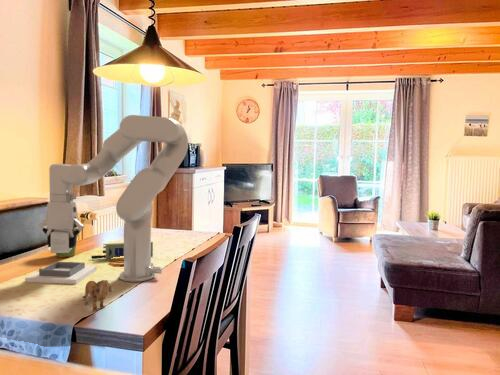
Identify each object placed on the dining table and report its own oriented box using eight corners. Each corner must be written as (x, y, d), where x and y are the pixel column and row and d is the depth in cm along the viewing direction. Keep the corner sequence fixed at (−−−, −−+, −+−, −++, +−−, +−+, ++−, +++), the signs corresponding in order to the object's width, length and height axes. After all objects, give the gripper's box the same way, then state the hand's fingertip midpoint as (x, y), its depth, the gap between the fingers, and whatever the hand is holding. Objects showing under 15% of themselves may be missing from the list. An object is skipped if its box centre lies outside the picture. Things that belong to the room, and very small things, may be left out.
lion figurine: (116, 309, 112) (116, 279, 111) (99, 315, 107) (99, 284, 107) (90, 296, 121) (90, 269, 120) (74, 301, 117) (73, 272, 116)
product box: (54, 249, 142) (54, 229, 141) (72, 248, 143) (72, 229, 142) (50, 253, 136) (50, 232, 135) (68, 252, 137) (68, 232, 136)
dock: (96, 269, 148) (96, 261, 147) (76, 283, 132) (76, 274, 132) (51, 268, 149) (51, 259, 148) (25, 281, 133) (25, 272, 132)
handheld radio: (152, 257, 168) (91, 261, 160) (152, 256, 171) (91, 259, 163) (152, 242, 167) (91, 245, 159) (152, 241, 170) (91, 243, 163)
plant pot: (82, 251, 174) (82, 227, 173) (77, 258, 162) (77, 232, 161) (54, 252, 171) (53, 227, 170) (46, 260, 159) (46, 233, 158)
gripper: (89, 198, 141) (89, 245, 143) (43, 196, 142) (44, 243, 143) (80, 200, 134) (80, 250, 135) (31, 198, 134) (32, 248, 136)
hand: (61, 246), depth 139 cm, fingers closed on product box, 7 cm apart
